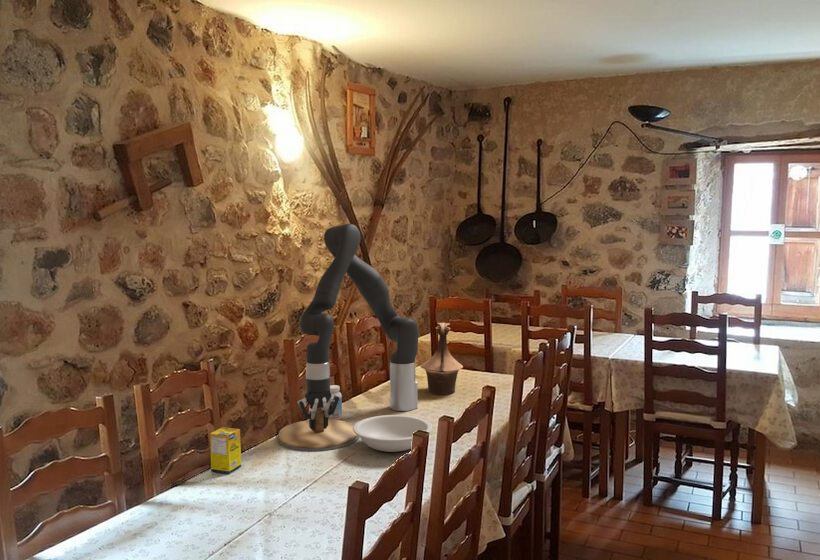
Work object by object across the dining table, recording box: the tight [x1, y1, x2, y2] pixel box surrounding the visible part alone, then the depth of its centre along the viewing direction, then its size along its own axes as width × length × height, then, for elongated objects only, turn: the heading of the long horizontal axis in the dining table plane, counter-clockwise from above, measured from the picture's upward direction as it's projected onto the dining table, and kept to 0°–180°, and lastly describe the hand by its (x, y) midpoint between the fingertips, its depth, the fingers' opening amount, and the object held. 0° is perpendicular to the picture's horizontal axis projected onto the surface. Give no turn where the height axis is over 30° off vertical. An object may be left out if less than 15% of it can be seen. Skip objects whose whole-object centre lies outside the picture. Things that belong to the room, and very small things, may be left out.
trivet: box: [276, 433, 360, 452], centre depth 210 cm, size 26×26×1 cm
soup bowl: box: [353, 414, 433, 453], centre depth 200 cm, size 24×24×7 cm
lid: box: [278, 410, 358, 449], centre depth 210 cm, size 25×25×7 cm
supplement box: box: [209, 426, 242, 475], centre depth 183 cm, size 6×6×11 cm
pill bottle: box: [327, 384, 343, 420], centre depth 229 cm, size 6×6×11 cm
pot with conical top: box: [420, 322, 464, 395], centre depth 263 cm, size 18×17×28 cm
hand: (318, 428), depth 210 cm, fingers closed on lid, 3 cm apart
